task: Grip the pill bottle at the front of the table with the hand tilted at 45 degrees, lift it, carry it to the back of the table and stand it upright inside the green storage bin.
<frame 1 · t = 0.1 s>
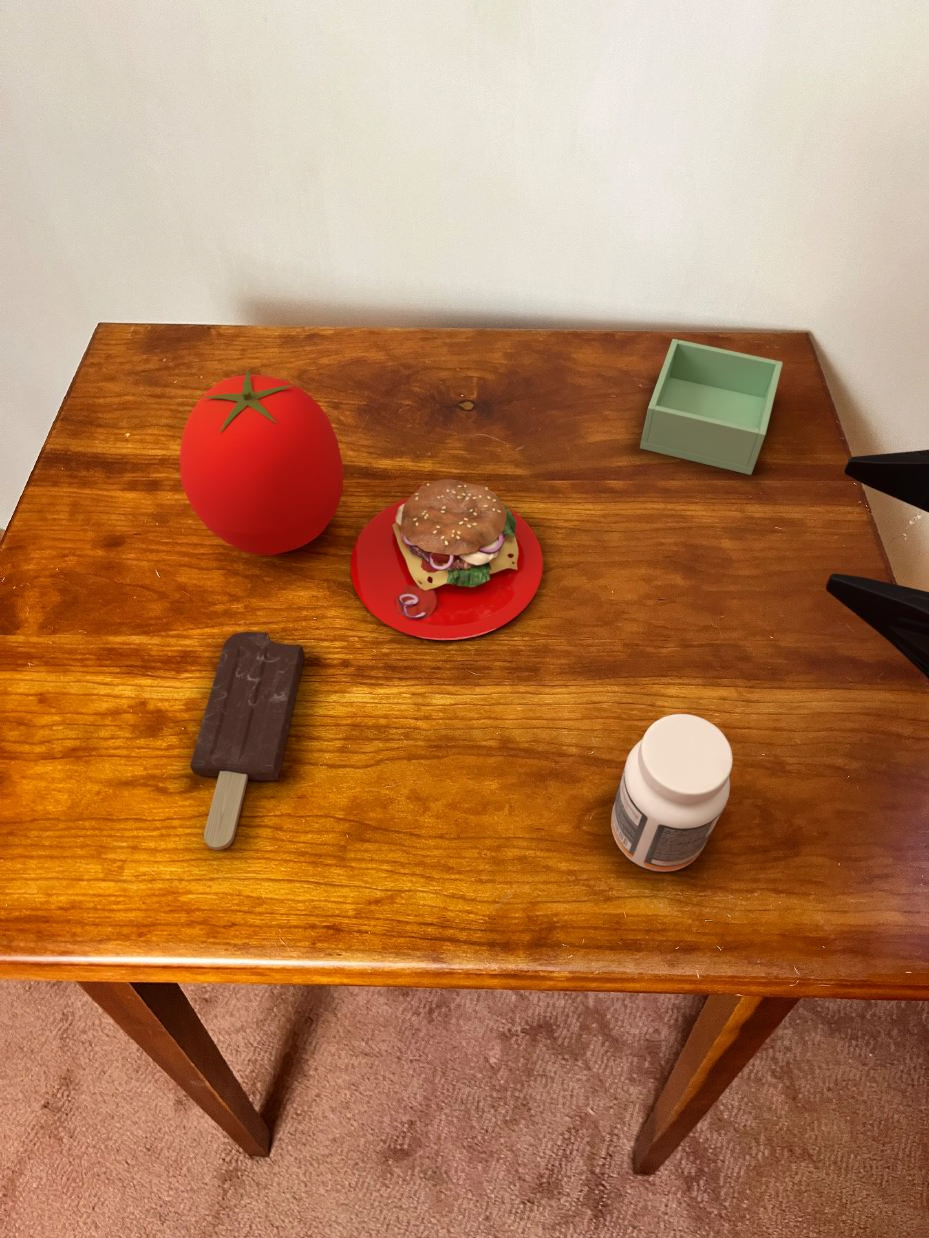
hand: (837, 520, 51), 14 cm above the table, tool horizontal, fingers open, 9 cm apart
ice cream bar: (246, 742, 58), on the table
hamburger: (446, 565, 67), on the table
pill bottle: (655, 830, 55), on the table
tomato: (281, 530, 69), on the table
green storage bin: (705, 425, 75), on the table
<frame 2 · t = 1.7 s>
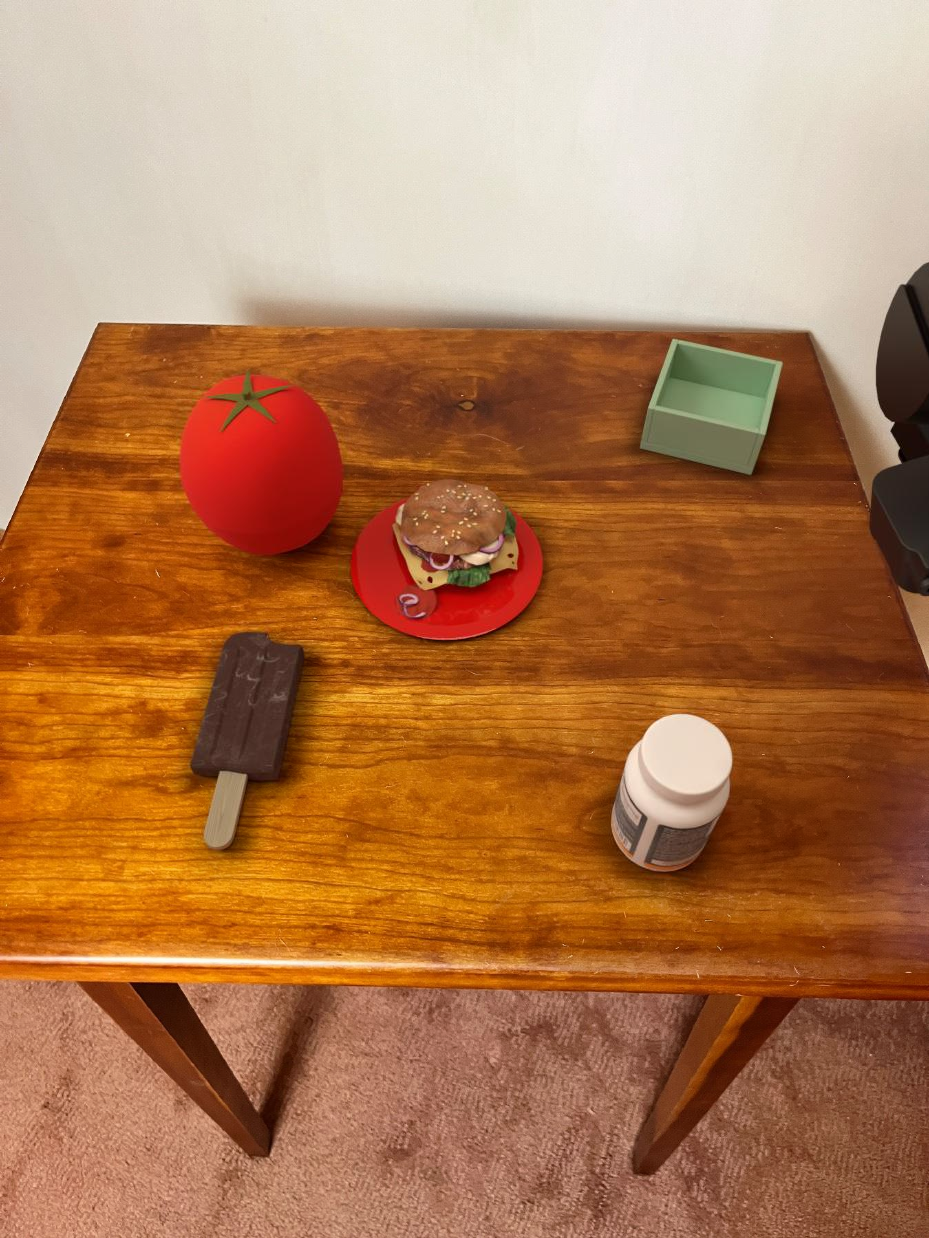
nothing on the table moved.
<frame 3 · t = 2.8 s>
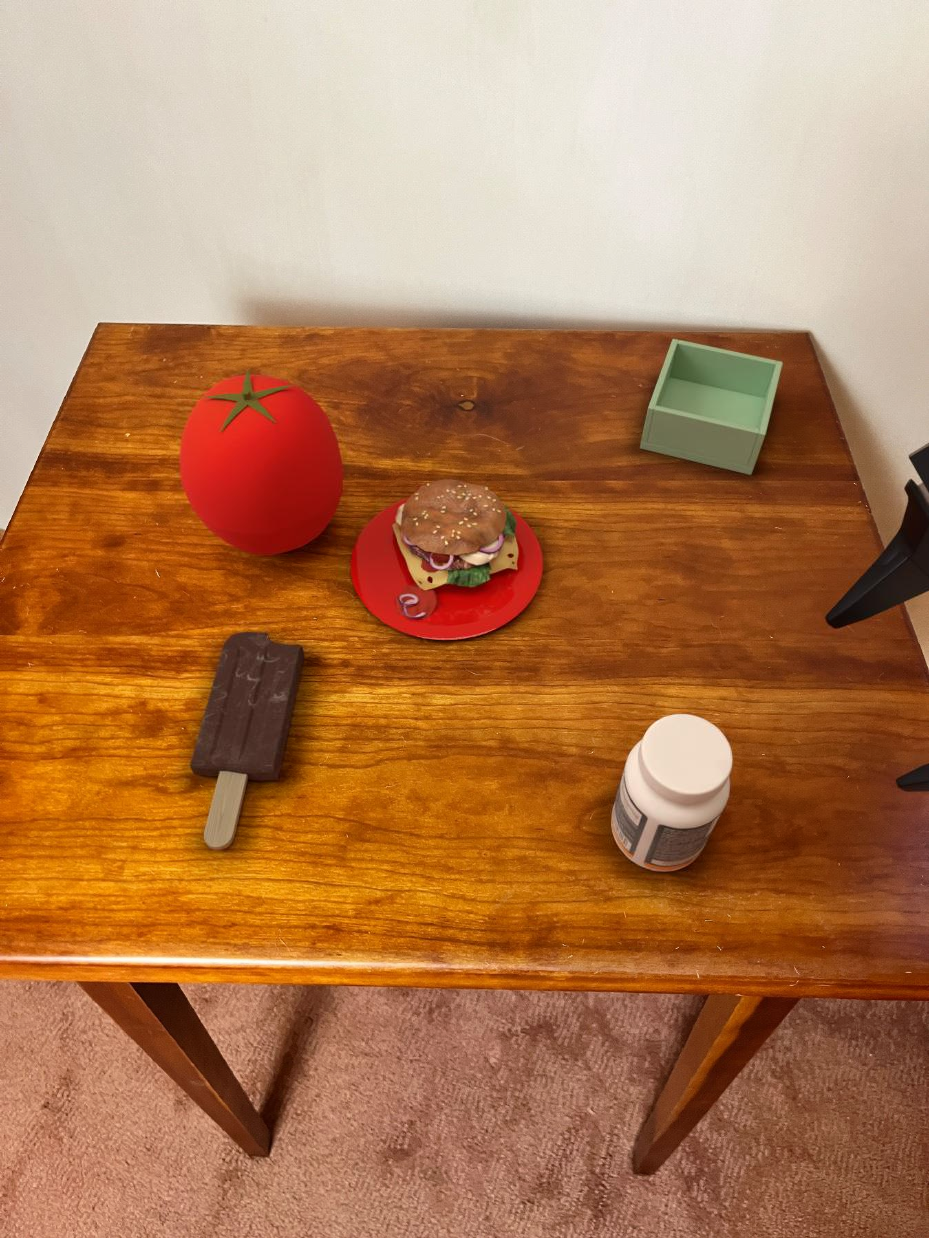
hand: (862, 699, 44), 13 cm above the table, tool tilted 45°, fingers open, 9 cm apart
nothing on the table moved.
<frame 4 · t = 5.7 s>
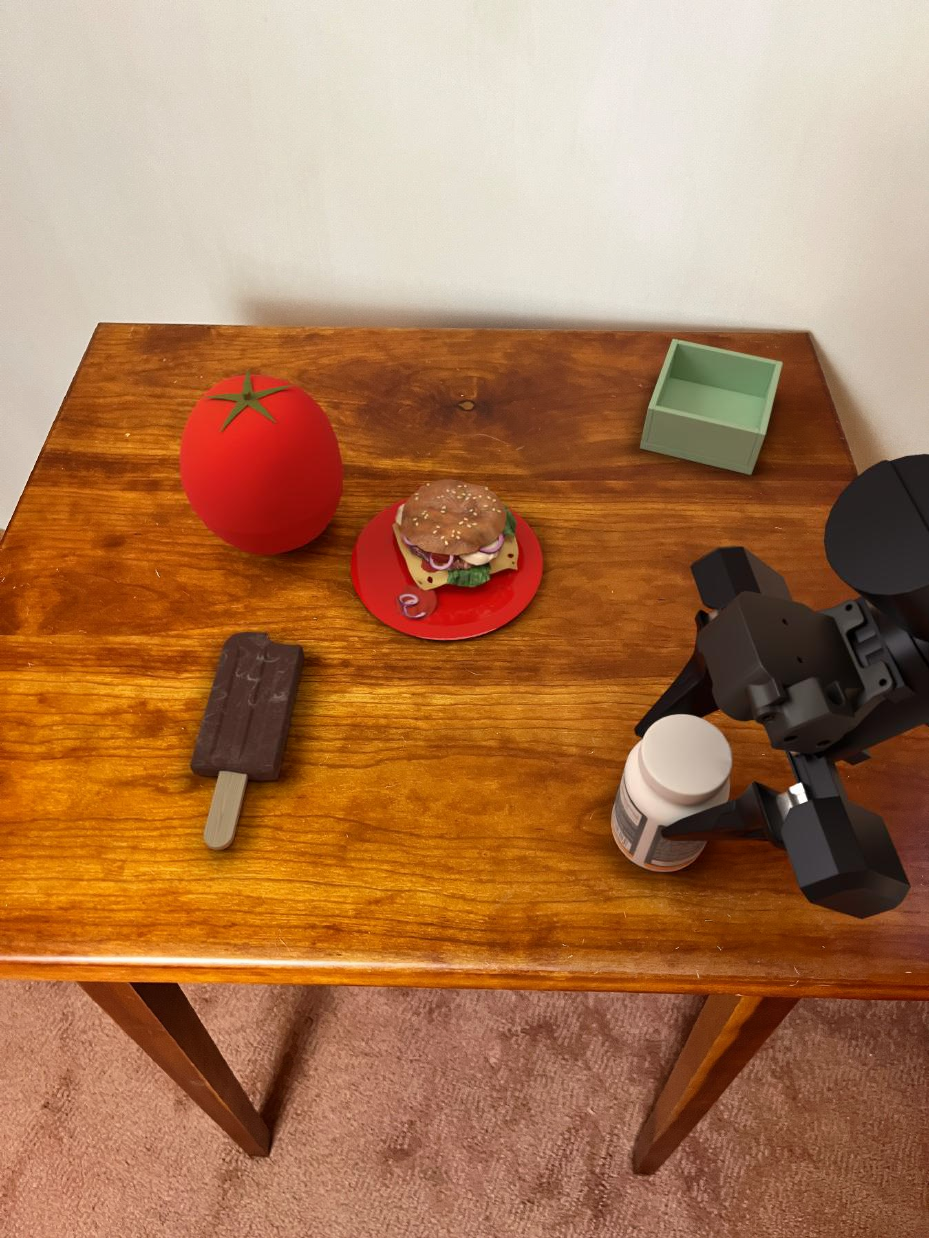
hand: (651, 782, 49), 7 cm above the table, tool tilted 45°, fingers closed on pill bottle, 6 cm apart
pill bottle: (655, 830, 55), on the table, touching gripper
everything else where it was.
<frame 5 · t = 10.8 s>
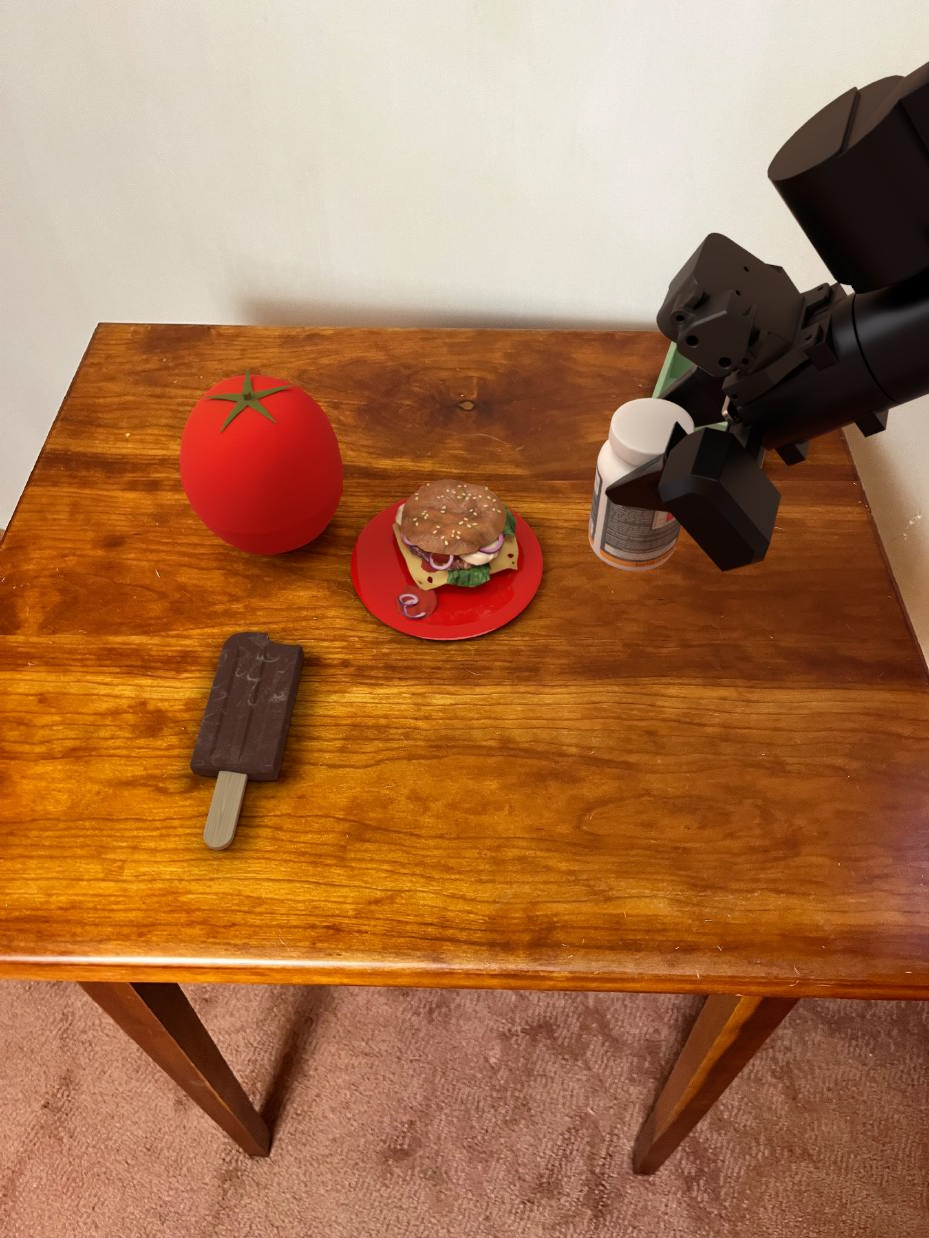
hand: (623, 461, 54), 13 cm above the table, tool tilted 45°, fingers closed on pill bottle, 6 cm apart
pill bottle: (630, 543, 59), point 7 cm above the table, touching gripper
everything else where it was.
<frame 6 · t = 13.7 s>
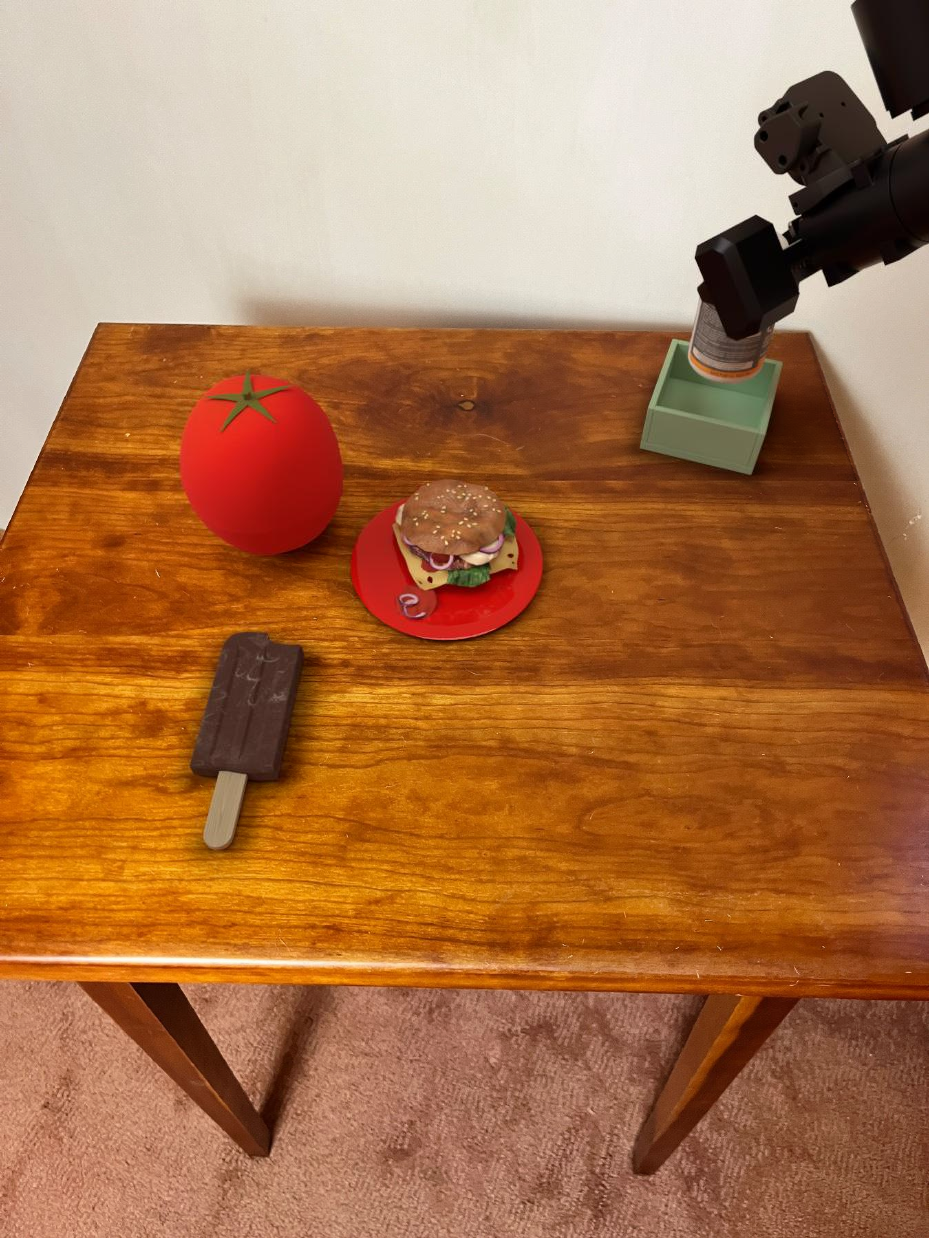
hand: (729, 278, 65), 13 cm above the table, tool tilted 45°, fingers closed on pill bottle, 6 cm apart
pill bottle: (722, 365, 70), point 6 cm above the table, touching gripper
everything else where it was.
when the fingers open (7 cm above the table, at t = 16.1 s): pill bottle stays where it is, resting on green storage bin.
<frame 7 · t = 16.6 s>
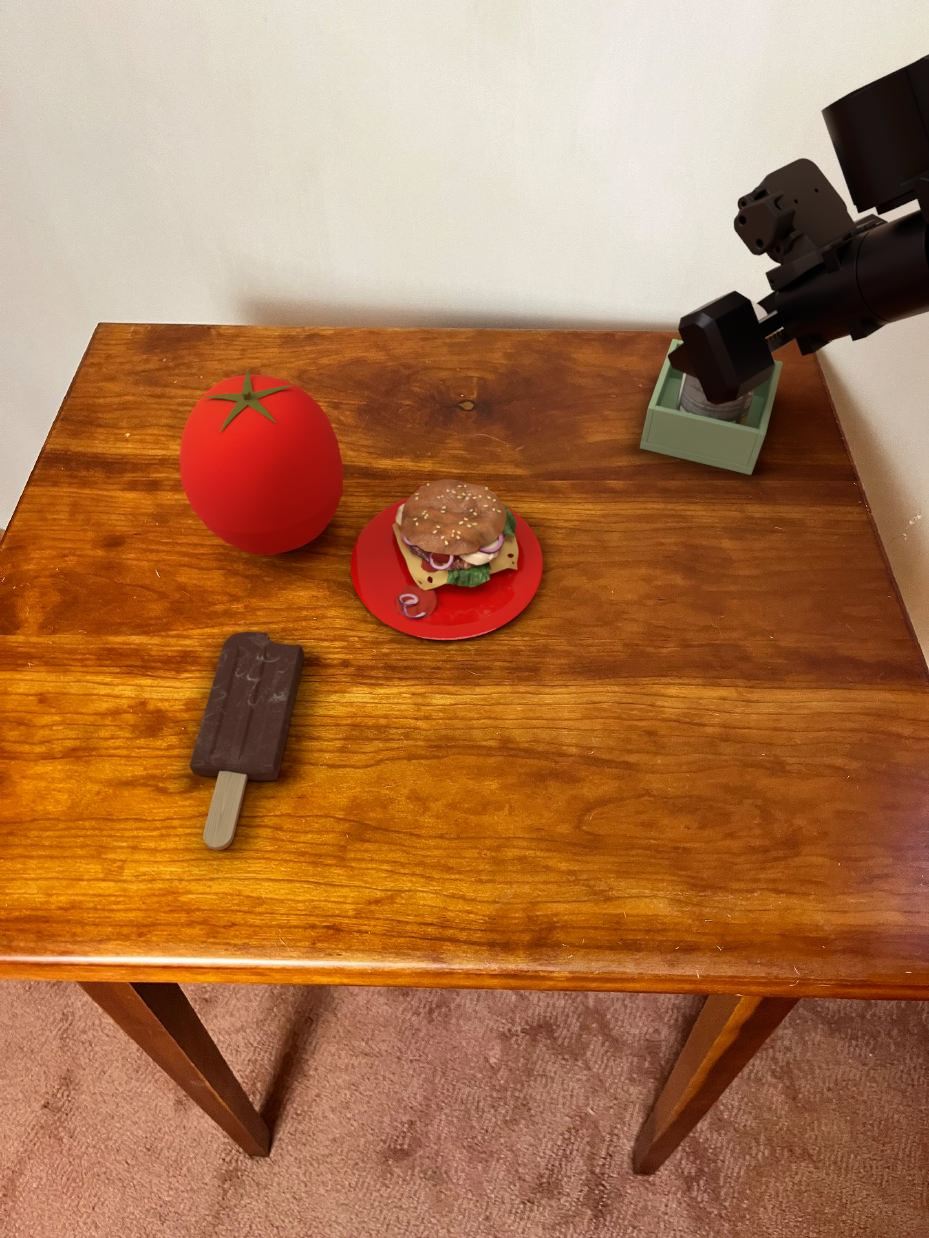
hand: (713, 336, 70), 8 cm above the table, tool tilted 45°, fingers open, 9 cm apart
pill bottle: (708, 421, 75), point 1 cm above the table, touching green storage bin
everything else where it was.
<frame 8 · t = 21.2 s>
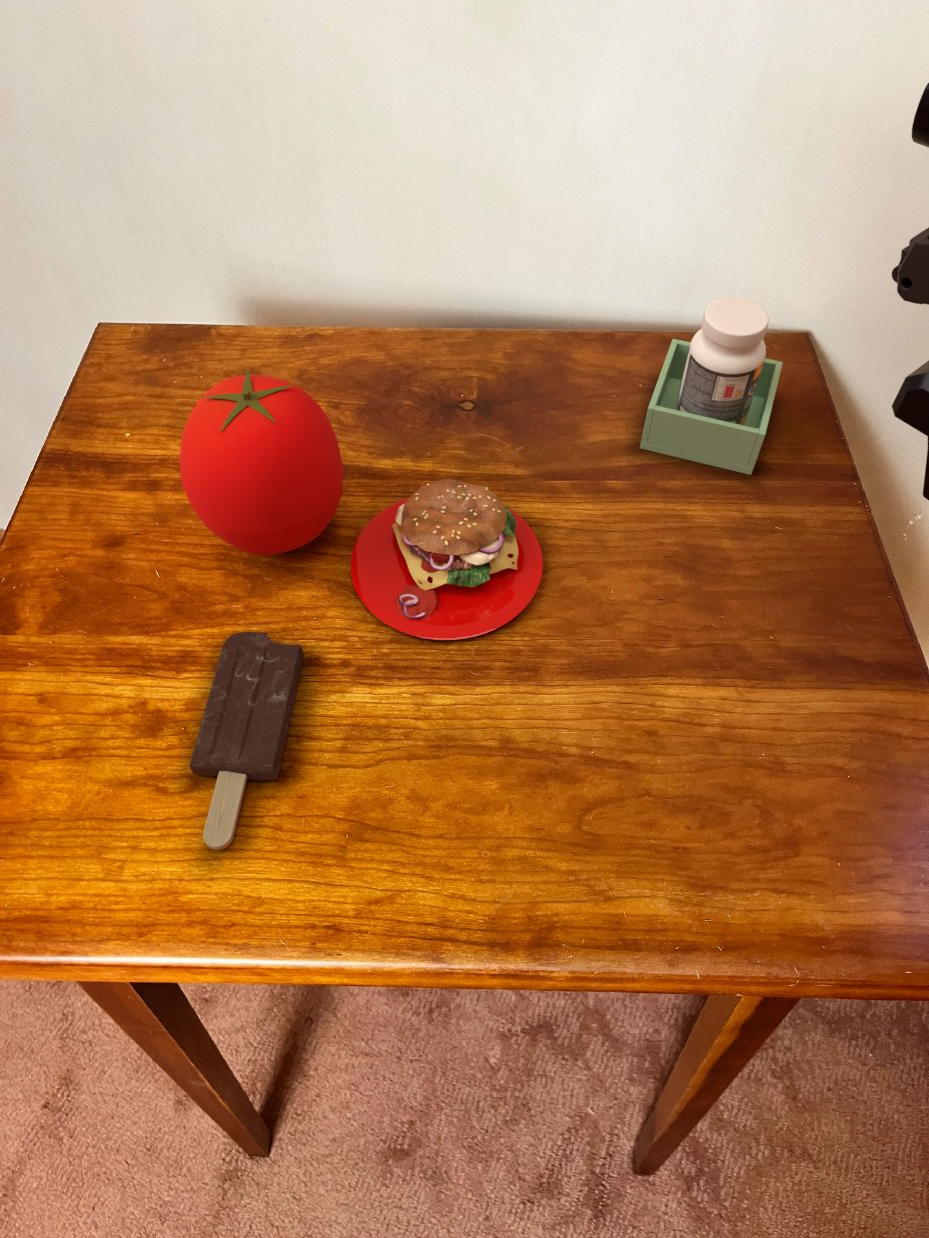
nothing on the table moved.
at the end: pill bottle inside the target area in the green storage bin (0.1 cm from its centre), point 0.6 cm above the green storage bin's base; pill bottle tilted 0°; the gripper is holding nothing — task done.
